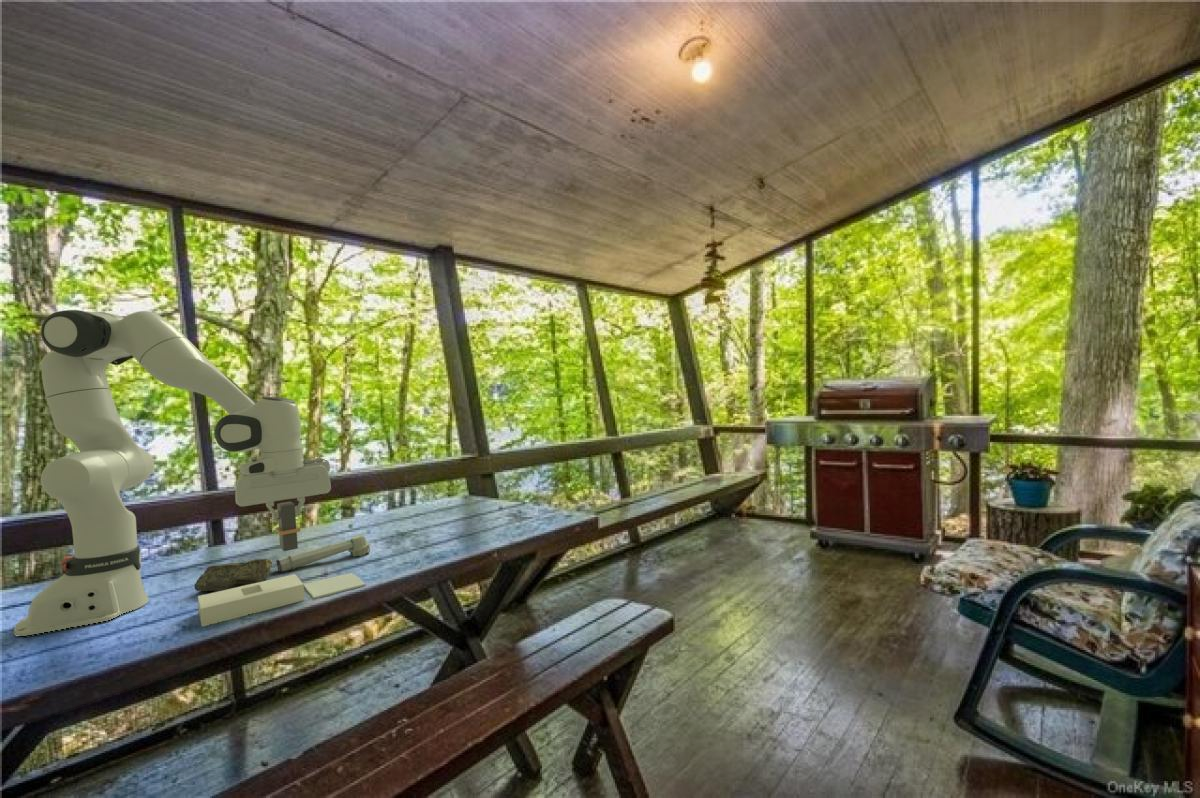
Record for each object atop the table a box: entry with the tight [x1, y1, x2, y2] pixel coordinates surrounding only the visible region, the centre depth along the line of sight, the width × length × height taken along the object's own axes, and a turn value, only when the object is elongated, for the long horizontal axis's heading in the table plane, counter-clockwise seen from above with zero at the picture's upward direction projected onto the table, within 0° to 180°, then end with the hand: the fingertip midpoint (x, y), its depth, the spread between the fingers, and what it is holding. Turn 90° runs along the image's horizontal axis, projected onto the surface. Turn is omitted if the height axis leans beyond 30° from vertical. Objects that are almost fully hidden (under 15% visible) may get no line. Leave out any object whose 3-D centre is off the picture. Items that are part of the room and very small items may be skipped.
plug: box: [274, 501, 301, 552], centre depth 129 cm, size 4×6×11 cm
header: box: [197, 573, 305, 628], centre depth 124 cm, size 20×10×4 cm, turn 131°
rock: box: [193, 558, 273, 592], centre depth 139 cm, size 17×7×10 cm
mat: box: [303, 572, 367, 600], centre depth 136 cm, size 12×12×1 cm
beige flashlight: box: [275, 534, 371, 573], centre depth 157 cm, size 5×7×25 cm
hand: (286, 517), depth 129 cm, fingers closed on plug, 3 cm apart
